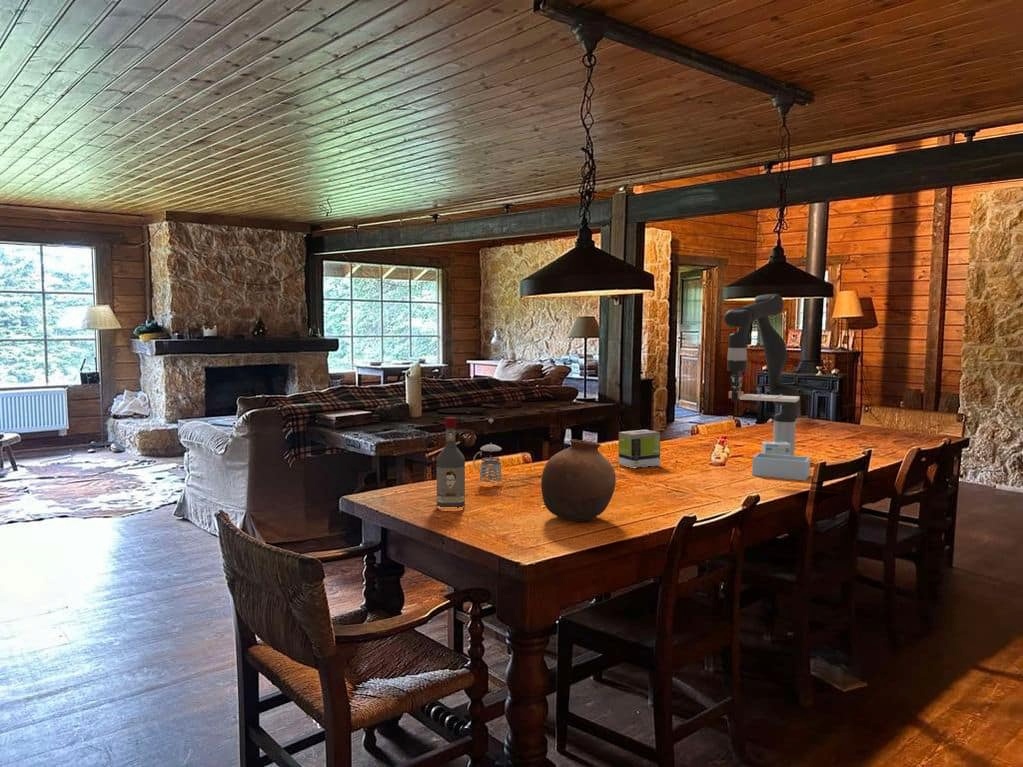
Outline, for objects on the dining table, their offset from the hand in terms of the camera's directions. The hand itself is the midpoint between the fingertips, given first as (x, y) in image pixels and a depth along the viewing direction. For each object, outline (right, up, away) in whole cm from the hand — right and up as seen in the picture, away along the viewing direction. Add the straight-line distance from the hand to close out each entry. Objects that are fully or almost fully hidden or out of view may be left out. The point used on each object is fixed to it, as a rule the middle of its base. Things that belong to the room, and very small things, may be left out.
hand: (735, 401), depth 301 cm
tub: (+16, -30, -6) cm, 35 cm away
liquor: (-111, -34, -56) cm, 129 cm away
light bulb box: (+21, -29, +13) cm, 38 cm away
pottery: (-70, -35, -69) cm, 105 cm away
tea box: (-36, -28, +17) cm, 49 cm away
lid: (+9, +1, -5) cm, 11 cm away
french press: (-100, -31, -21) cm, 106 cm away
